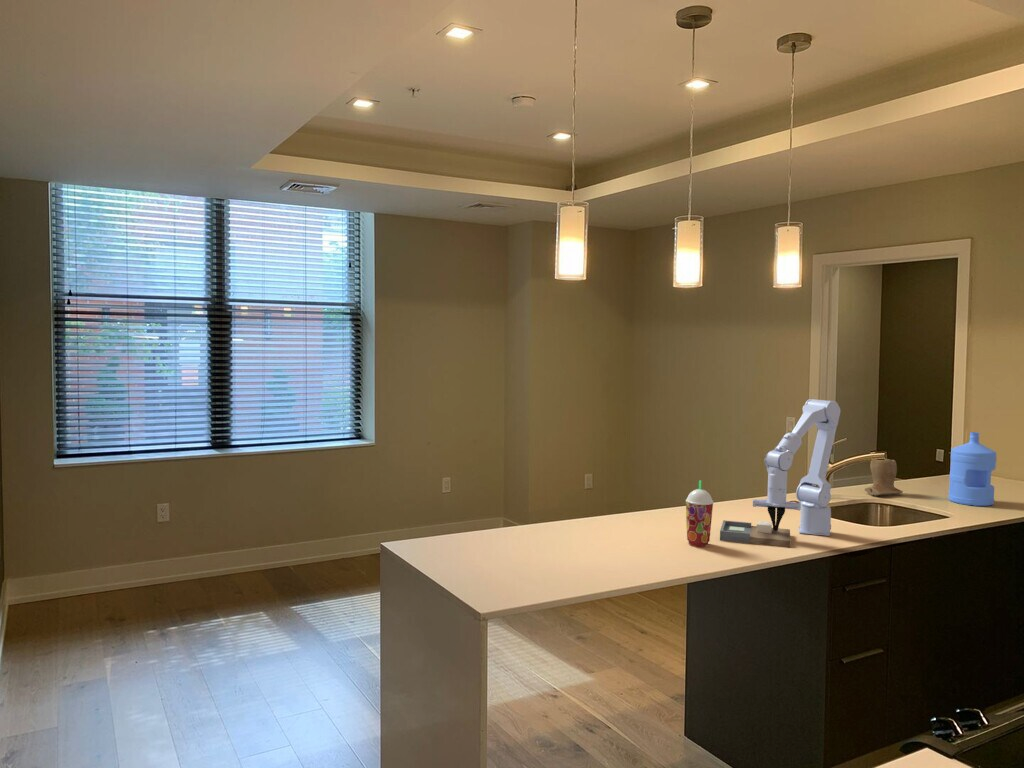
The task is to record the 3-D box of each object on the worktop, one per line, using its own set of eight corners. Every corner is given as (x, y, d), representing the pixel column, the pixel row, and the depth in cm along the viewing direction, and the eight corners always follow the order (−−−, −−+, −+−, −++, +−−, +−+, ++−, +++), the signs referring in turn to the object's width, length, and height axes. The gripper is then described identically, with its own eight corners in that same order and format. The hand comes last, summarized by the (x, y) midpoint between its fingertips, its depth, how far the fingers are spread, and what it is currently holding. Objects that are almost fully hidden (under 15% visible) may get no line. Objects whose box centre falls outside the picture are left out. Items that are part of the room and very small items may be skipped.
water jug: (939, 499, 311) (943, 430, 310) (965, 497, 318) (968, 429, 316) (976, 508, 297) (980, 435, 295) (1002, 504, 304) (1007, 434, 302)
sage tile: (744, 533, 248) (744, 527, 248) (743, 536, 244) (743, 531, 244) (729, 531, 250) (729, 526, 249) (728, 535, 245) (729, 529, 245)
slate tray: (751, 531, 256) (751, 522, 256) (749, 543, 242) (749, 533, 242) (723, 529, 259) (723, 520, 259) (719, 540, 245) (720, 530, 244)
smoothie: (707, 540, 244) (709, 478, 242) (715, 548, 236) (717, 483, 234) (681, 540, 244) (683, 477, 242) (688, 548, 235) (690, 483, 234)
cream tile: (771, 530, 251) (771, 522, 250) (771, 533, 246) (771, 525, 246) (756, 528, 252) (757, 521, 252) (756, 532, 248) (756, 524, 248)
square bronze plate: (789, 535, 252) (789, 529, 252) (790, 547, 238) (790, 540, 238) (751, 531, 256) (751, 525, 256) (749, 543, 242) (749, 536, 242)
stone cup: (883, 490, 329) (885, 455, 328) (907, 496, 318) (908, 460, 317) (856, 492, 324) (857, 457, 323) (878, 498, 313) (880, 461, 312)
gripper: (753, 488, 246) (751, 531, 246) (801, 492, 241) (799, 535, 242) (753, 484, 252) (752, 525, 253) (801, 488, 248) (799, 530, 248)
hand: (775, 530), depth 248 cm, fingers closed
